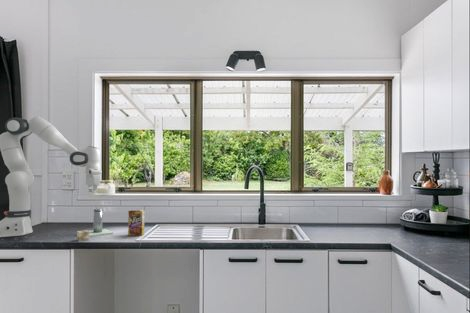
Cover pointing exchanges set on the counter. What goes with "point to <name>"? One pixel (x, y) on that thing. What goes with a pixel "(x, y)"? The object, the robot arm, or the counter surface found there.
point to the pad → (104, 232)
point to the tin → (98, 220)
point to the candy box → (136, 222)
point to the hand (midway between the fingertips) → (92, 192)
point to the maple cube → (83, 235)
